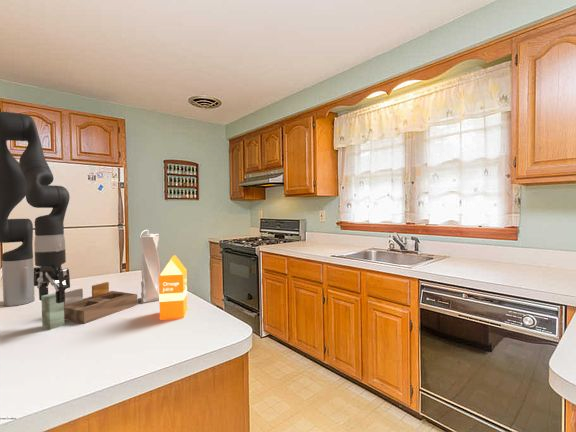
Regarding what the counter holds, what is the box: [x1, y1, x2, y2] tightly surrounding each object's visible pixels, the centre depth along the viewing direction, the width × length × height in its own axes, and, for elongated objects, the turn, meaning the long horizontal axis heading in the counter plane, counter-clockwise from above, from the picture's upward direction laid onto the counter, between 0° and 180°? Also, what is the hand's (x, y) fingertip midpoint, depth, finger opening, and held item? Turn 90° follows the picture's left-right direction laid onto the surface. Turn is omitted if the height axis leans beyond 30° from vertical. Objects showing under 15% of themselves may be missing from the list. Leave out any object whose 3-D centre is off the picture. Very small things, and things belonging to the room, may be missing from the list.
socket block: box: [64, 281, 139, 324], centre depth 108 cm, size 14×20×8 cm
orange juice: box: [158, 254, 188, 321], centre depth 103 cm, size 8×9×20 cm
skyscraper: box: [137, 229, 161, 305], centre depth 121 cm, size 8×8×28 cm
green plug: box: [41, 292, 65, 330], centre depth 94 cm, size 4×4×10 cm
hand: (52, 301), depth 93 cm, fingers open, 8 cm apart
